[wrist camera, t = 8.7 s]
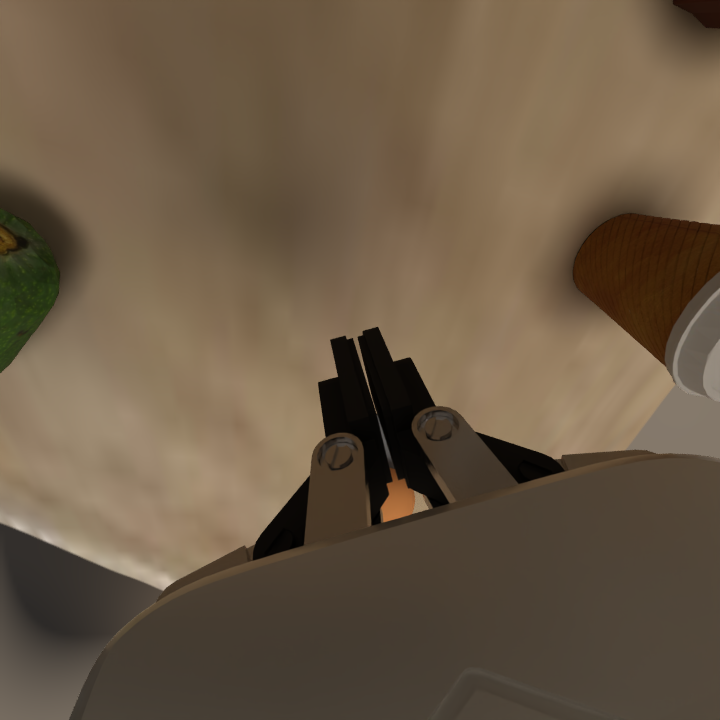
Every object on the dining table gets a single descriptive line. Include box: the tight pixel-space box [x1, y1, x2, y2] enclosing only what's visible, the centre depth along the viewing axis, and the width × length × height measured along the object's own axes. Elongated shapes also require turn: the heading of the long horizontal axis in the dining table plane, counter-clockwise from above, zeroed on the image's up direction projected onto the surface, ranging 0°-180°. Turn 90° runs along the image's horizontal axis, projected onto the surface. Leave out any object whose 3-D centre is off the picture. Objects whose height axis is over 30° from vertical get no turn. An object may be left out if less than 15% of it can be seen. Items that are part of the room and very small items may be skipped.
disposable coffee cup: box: [573, 214, 720, 402], centre depth 23 cm, size 10×10×12 cm
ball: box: [381, 468, 415, 522], centre depth 35 cm, size 6×6×6 cm
